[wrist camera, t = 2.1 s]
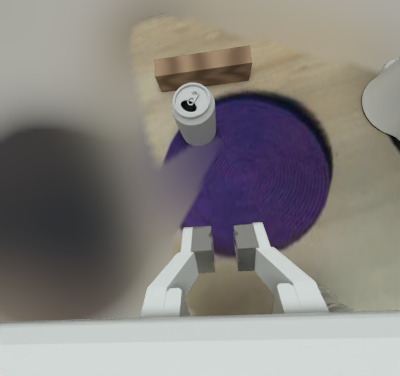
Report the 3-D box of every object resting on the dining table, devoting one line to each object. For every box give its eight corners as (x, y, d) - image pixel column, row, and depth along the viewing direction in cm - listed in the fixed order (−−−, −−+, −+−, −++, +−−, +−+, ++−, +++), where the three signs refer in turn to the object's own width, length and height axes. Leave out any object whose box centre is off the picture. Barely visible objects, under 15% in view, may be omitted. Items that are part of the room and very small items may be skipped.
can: (176, 138, 44) (159, 108, 32) (193, 110, 44) (183, 71, 33) (205, 153, 42) (199, 127, 31) (222, 124, 43) (223, 88, 31)
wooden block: (246, 64, 45) (249, 45, 40) (248, 80, 44) (252, 62, 39) (161, 76, 47) (154, 59, 42) (161, 91, 46) (154, 76, 41)
